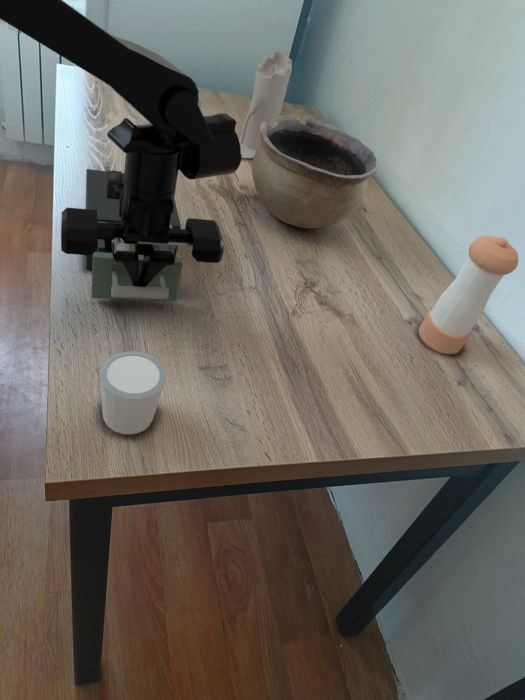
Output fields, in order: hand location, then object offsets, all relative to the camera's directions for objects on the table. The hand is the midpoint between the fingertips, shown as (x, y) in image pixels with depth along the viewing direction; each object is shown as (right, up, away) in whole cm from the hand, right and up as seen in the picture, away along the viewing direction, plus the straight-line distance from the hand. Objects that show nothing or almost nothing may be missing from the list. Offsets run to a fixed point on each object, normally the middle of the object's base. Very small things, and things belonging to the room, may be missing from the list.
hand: (138, 290), depth 70 cm
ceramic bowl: (+23, +18, +34) cm, 45 cm away
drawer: (-2, +2, +7) cm, 7 cm away
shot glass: (+1, -15, -9) cm, 18 cm away
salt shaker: (+45, -6, +17) cm, 48 cm away
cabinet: (-5, +9, +14) cm, 17 cm away
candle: (+12, +37, +50) cm, 63 cm away
